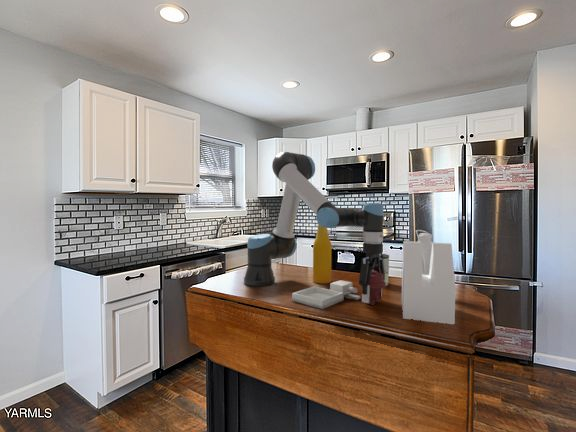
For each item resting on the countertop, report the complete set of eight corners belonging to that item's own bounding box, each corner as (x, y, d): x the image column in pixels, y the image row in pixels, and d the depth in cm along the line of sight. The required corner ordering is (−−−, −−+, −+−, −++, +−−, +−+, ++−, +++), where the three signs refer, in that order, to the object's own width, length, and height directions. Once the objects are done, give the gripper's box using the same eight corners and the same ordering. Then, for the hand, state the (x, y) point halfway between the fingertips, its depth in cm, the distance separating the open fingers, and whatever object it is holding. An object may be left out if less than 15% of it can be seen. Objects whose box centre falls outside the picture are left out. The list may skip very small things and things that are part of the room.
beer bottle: (334, 280, 154) (334, 223, 153) (326, 284, 146) (327, 224, 145) (317, 278, 159) (318, 223, 158) (309, 282, 151) (309, 223, 150)
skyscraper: (421, 297, 127) (423, 230, 126) (410, 292, 135) (411, 229, 134) (439, 296, 129) (440, 230, 128) (426, 291, 137) (428, 229, 136)
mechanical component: (383, 299, 123) (386, 307, 113) (358, 297, 125) (359, 305, 115) (384, 269, 123) (387, 274, 113) (359, 268, 125) (359, 273, 115)
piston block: (330, 292, 128) (330, 283, 128) (340, 289, 134) (340, 280, 133) (351, 297, 121) (351, 287, 121) (360, 293, 127) (361, 284, 127)
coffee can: (363, 283, 148) (364, 255, 148) (371, 279, 157) (371, 252, 156) (384, 287, 142) (385, 257, 142) (391, 282, 151) (392, 254, 150)
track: (333, 294, 130) (333, 292, 129) (337, 293, 132) (337, 290, 132) (356, 300, 122) (356, 297, 122) (360, 298, 124) (360, 296, 124)
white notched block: (454, 324, 97) (456, 246, 96) (403, 318, 102) (404, 244, 102) (444, 306, 115) (446, 240, 115) (401, 302, 120) (402, 239, 120)
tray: (292, 300, 121) (292, 293, 121) (314, 293, 132) (314, 286, 132) (322, 309, 111) (322, 300, 111) (343, 300, 122) (343, 292, 122)
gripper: (368, 246, 108) (367, 308, 108) (394, 241, 124) (393, 295, 125) (349, 244, 113) (348, 303, 113) (376, 239, 130) (376, 291, 130)
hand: (372, 299), depth 119 cm, fingers closed on mechanical component, 10 cm apart
